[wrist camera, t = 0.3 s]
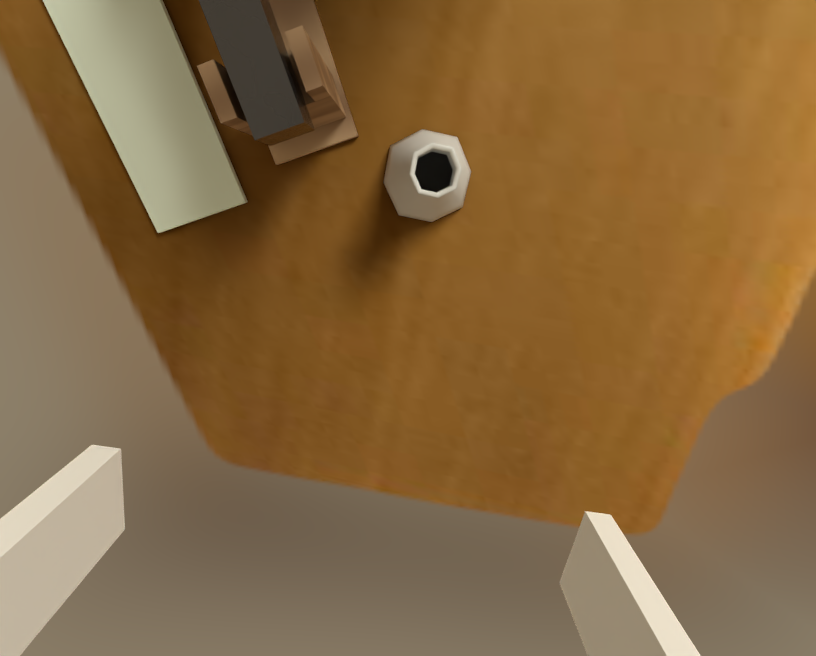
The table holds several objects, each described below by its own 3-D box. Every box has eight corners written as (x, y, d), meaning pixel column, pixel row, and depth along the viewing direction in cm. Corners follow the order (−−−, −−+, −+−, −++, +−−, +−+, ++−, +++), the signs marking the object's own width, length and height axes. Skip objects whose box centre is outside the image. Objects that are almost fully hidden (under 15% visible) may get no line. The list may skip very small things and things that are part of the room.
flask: (389, 227, 36) (383, 239, 26) (377, 135, 34) (366, 112, 24) (473, 216, 36) (498, 224, 26) (467, 123, 34) (492, 95, 24)
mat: (-24, -143, 28) (-32, -150, 28) (82, -191, 28) (75, -199, 27) (161, 232, 36) (157, 233, 35) (247, 202, 35) (245, 202, 35)
